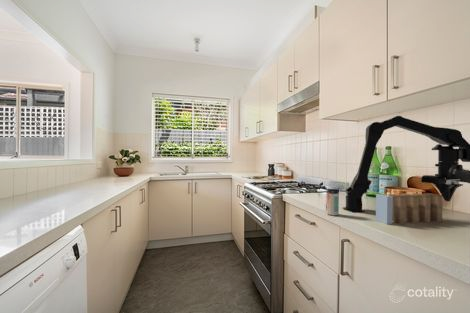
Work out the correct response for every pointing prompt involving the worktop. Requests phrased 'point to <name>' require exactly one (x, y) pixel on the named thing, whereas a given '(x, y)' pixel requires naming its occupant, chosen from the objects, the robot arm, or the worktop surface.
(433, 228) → the worktop surface
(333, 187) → the beer can
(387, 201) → the slate domino
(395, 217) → the domino
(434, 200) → the domino
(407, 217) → the domino
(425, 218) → the domino
